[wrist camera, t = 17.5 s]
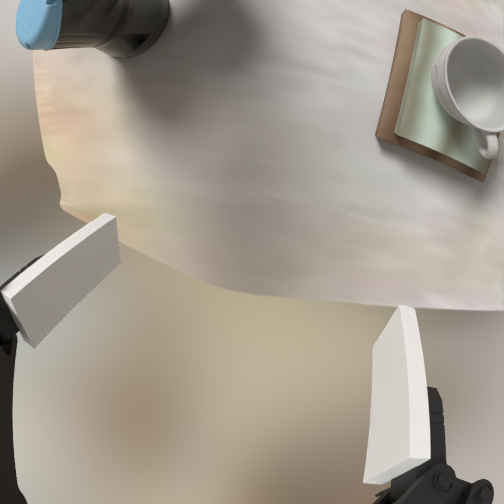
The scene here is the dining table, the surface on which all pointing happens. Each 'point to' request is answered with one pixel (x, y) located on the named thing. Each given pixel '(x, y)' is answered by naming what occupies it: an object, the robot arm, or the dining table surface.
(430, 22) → the block stand
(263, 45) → the dining table surface
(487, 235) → the dining table surface
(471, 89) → the teacup
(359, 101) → the dining table surface
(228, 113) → the dining table surface
